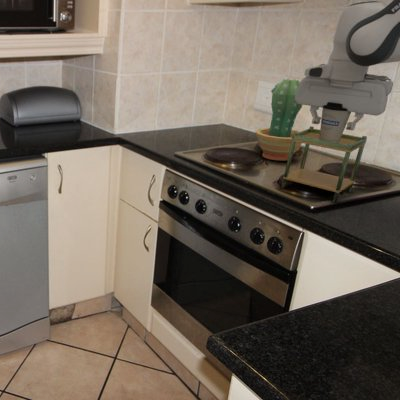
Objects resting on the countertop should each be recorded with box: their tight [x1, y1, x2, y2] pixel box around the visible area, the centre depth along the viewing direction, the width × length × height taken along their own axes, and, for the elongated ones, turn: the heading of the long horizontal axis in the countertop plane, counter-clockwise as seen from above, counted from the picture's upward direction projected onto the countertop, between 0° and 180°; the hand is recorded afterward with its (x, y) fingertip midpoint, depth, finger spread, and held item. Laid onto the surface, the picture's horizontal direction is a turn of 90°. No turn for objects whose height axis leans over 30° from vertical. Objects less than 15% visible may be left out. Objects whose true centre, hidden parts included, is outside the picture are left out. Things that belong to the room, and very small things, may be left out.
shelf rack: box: [280, 125, 368, 204], centre depth 128 cm, size 14×12×16 cm
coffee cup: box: [319, 102, 352, 143], centre depth 123 cm, size 7×7×10 cm
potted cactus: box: [255, 78, 303, 162], centre depth 154 cm, size 15×15×25 cm
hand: (332, 126), depth 124 cm, fingers closed on coffee cup, 7 cm apart
